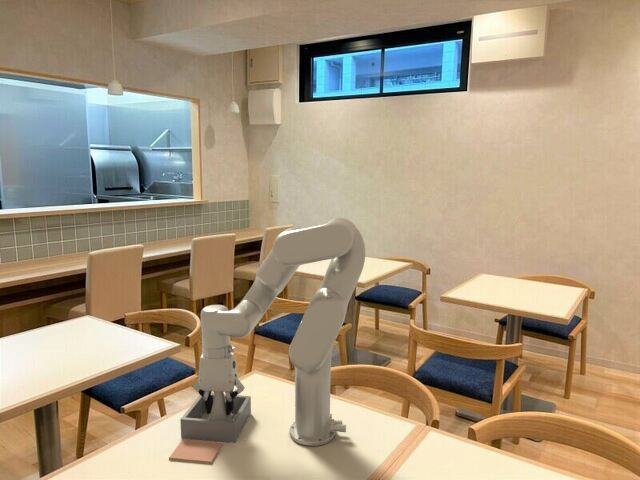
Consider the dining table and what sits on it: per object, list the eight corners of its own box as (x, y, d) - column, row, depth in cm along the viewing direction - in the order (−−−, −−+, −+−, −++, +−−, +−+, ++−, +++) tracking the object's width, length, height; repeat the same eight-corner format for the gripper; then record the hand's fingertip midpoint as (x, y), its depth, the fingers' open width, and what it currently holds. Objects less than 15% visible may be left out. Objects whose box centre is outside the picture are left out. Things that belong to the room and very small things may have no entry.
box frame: (251, 413, 138) (250, 396, 137) (235, 442, 123) (234, 423, 122) (202, 409, 139) (201, 392, 139) (181, 438, 125) (180, 419, 124)
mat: (222, 444, 122) (222, 442, 122) (211, 463, 114) (211, 461, 114) (182, 441, 123) (182, 439, 123) (169, 459, 116) (169, 457, 115)
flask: (227, 429, 127) (225, 395, 125) (202, 427, 128) (200, 393, 127) (237, 416, 134) (235, 383, 132) (213, 413, 135) (211, 381, 134)
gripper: (250, 346, 130) (253, 407, 133) (192, 344, 132) (196, 404, 135) (242, 357, 123) (245, 421, 126) (181, 354, 125) (185, 417, 128)
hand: (219, 411), depth 130 cm, fingers closed on flask, 4 cm apart
